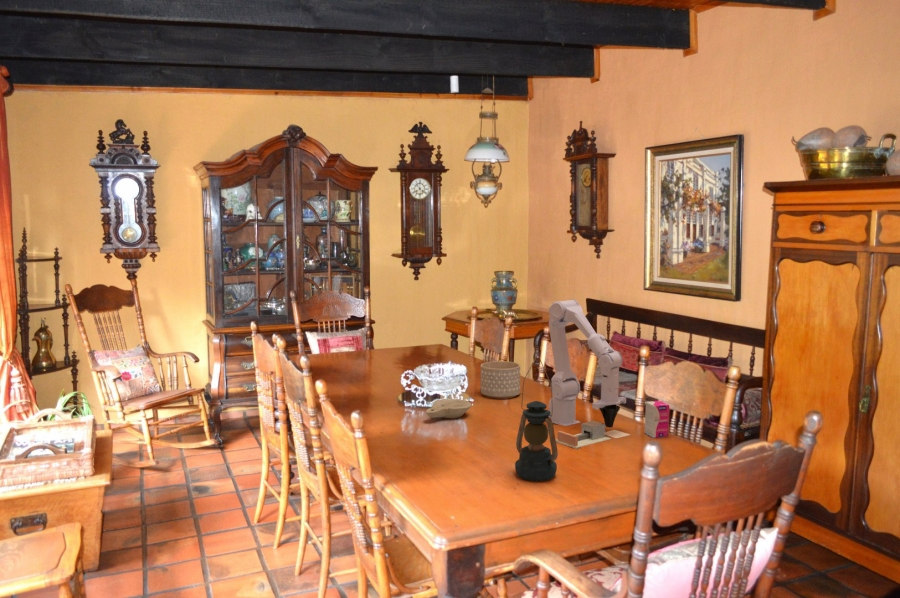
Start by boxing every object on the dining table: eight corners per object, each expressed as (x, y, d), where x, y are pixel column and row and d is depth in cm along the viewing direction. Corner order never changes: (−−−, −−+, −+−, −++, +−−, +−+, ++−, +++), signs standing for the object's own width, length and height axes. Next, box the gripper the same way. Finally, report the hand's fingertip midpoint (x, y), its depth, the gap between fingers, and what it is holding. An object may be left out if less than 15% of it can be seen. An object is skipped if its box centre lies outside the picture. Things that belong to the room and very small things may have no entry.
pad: (600, 434, 249) (600, 433, 249) (614, 430, 253) (614, 429, 253) (616, 439, 243) (616, 438, 243) (630, 435, 247) (630, 434, 247)
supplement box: (653, 439, 243) (654, 405, 241) (644, 434, 248) (644, 401, 247) (668, 438, 244) (669, 404, 243) (659, 433, 250) (660, 400, 249)
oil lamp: (444, 427, 258) (444, 413, 258) (413, 420, 267) (413, 407, 266) (478, 414, 275) (478, 401, 274) (448, 408, 283) (448, 396, 283)
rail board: (554, 441, 241) (554, 430, 241) (588, 433, 250) (589, 422, 250) (576, 449, 233) (576, 438, 232) (611, 440, 242) (611, 429, 242)
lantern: (503, 474, 210) (504, 354, 207) (529, 464, 219) (530, 348, 215) (542, 487, 200) (543, 360, 196) (568, 476, 209) (570, 355, 205)
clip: (581, 436, 244) (581, 423, 244) (593, 433, 248) (594, 420, 247) (592, 440, 240) (592, 426, 240) (605, 436, 244) (605, 423, 243)
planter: (476, 398, 299) (476, 367, 298) (486, 389, 315) (486, 360, 314) (515, 401, 295) (515, 370, 293) (523, 391, 310) (523, 362, 309)
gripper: (603, 392, 240) (603, 433, 241) (633, 386, 248) (632, 425, 249) (588, 388, 245) (587, 428, 247) (617, 382, 254) (616, 421, 255)
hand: (609, 426), depth 248 cm, fingers closed
